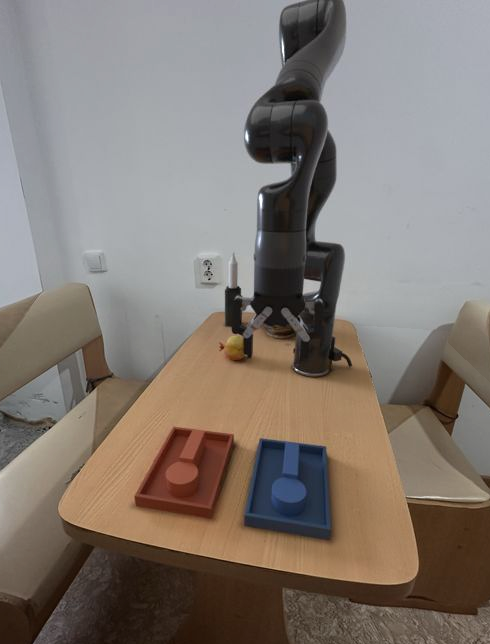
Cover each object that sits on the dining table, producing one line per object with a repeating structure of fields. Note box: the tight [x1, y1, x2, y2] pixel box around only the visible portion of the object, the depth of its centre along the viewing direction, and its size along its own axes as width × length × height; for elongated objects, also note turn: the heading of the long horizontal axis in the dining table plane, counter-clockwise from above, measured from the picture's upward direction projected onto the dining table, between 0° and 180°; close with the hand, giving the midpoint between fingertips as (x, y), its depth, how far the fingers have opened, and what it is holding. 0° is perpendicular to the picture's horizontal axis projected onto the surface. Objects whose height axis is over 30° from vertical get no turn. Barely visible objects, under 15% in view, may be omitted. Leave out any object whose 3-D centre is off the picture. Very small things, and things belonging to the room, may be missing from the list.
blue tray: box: [243, 437, 332, 541], centre depth 61 cm, size 18×12×2 cm
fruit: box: [218, 335, 245, 361], centre depth 105 cm, size 7×7×10 cm
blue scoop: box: [271, 441, 306, 516], centre depth 61 cm, size 13×5×4 cm, turn 168°
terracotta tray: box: [133, 426, 235, 520], centre depth 65 cm, size 18×12×2 cm
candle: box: [224, 251, 242, 328], centre depth 127 cm, size 5×5×25 cm
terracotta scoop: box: [166, 428, 206, 497], centre depth 64 cm, size 13×5×4 cm, turn 168°
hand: (275, 358), depth 62 cm, fingers open, 8 cm apart
